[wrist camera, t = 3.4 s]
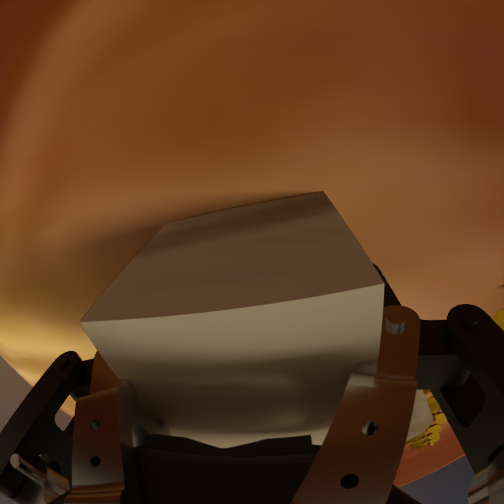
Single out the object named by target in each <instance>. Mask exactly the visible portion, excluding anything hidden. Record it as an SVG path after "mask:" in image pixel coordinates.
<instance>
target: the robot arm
mask: <svg viewBox="0 0 504 504" xmlns="http://www.w3.org/2000/svg"><path fill="white" fill-rule="evenodd" d="M372 264H373V263H372ZM373 265H374V267H375V269H376V270H377V272H378V273H379V275H380V277H381V278H382V280H383V282H384V303H383V318H382V329H381V339H380V348H379V356H378V359H375V360H371V361H366V362H362V363H359V365H358V368H357V371H356V373H352V375H351V376H350V379H349V381H348V384H347V386H346V389H345V392H344V394H343V397H342V399H341V402H340V404H339V407H338V409H337V412H336V414H335V417H334V419H333V421H332V424H331V426H330V428H329V430H328V433H327V435H326V437H325V439H324V441H323V443H322V445H314V444H312V438H311V435H303V436H293V437H282V438H267V439H264V440H260V441H256V442H252V443H248V444H243V445H239V446H234V447H229V448H219V447H216V446H212V445H209V444H205V443H202V442H199V441H196V440H193V439H190V438H187V437H178V436H171V433H170V429H169V427H168V426H167V425H166V423H165V422H164V421H163V420H157V419H152V418H151V417H150V416H149V415H148V413H147V412H146V411H145V410H144V409H143V408H142V406H141V404H140V402H139V399H138V396H137V390H136V388H135V387H134V386H133V385H132V383H131V382H130V381H129V379H119V378H117V376H116V375H115V374H114V372H113V371H112V370H111V368H110V367H109V366H108V364H107V363H106V362H105V360H104V359H103V357H102V356H101V355H100V353H99V352H98V351H97V352H96V354H95V357H94V358H93V359H89V360H85V361H82V359H81V358H80V357H79V355H78V354H77V353H76V352H75V351H68V352H65V353H63V354H61V355H60V356H59V357H58V358H57V359H56V360H55V361H54V362H53V363H52V364H51V366H50V367H49V368H48V369H47V371H46V372H45V373H44V374H43V376H42V377H41V378H40V379H39V381H38V382H37V383H36V384H35V386H34V387H33V388H32V390H31V391H30V392H29V394H28V395H27V396H26V398H25V399H24V400H23V402H22V403H21V404H20V406H19V407H18V408H17V410H16V411H15V413H14V414H13V415H12V417H11V418H10V420H9V421H8V423H7V424H6V426H5V427H4V428H3V430H2V431H1V433H0V493H2V494H3V495H4V496H5V497H7V498H8V499H10V500H12V501H13V503H14V504H421V503H419V502H418V501H416V500H415V499H413V498H411V497H410V496H409V495H408V494H406V493H405V492H403V491H402V490H400V489H399V488H397V487H396V486H395V485H393V483H394V480H395V477H396V474H397V471H398V467H399V464H400V461H401V458H402V454H403V451H404V447H405V443H406V439H407V435H408V431H409V427H410V422H411V417H412V412H413V407H414V402H415V396H416V390H428V389H430V391H431V393H432V394H433V396H434V398H435V399H436V401H437V403H438V404H439V406H440V408H441V410H442V411H443V413H444V415H445V417H446V418H447V420H448V422H449V424H450V426H451V428H452V429H453V431H454V433H455V435H456V437H457V439H458V441H459V443H460V444H461V446H462V448H463V450H464V452H465V454H466V456H467V458H468V460H469V462H470V464H471V467H472V469H473V471H474V473H475V477H474V478H473V480H472V481H471V483H470V486H469V489H468V501H469V504H504V331H503V329H502V328H501V327H500V326H499V325H498V324H497V323H496V322H495V321H494V320H493V319H492V318H491V317H490V316H489V315H488V314H487V313H486V312H485V311H483V310H482V309H481V308H479V307H477V306H474V305H470V304H461V305H458V306H455V307H453V308H452V309H451V310H450V311H449V313H448V316H447V320H422V319H420V318H419V316H418V314H417V313H416V312H415V311H414V310H412V309H410V308H408V307H405V306H401V304H400V302H399V301H398V299H397V297H396V295H395V294H394V292H393V290H392V289H391V287H390V285H389V284H388V283H387V281H386V279H385V277H384V276H383V274H382V273H381V271H380V269H379V268H378V266H376V265H375V264H373ZM69 395H70V396H71V397H72V398H73V399H74V400H75V401H76V407H75V415H74V417H73V418H72V420H71V421H70V423H69V425H68V426H67V428H66V429H65V430H64V431H62V430H61V429H60V428H59V427H58V426H57V425H56V423H55V414H56V413H57V411H58V410H59V408H60V407H61V406H62V404H63V403H64V401H65V400H66V398H67V397H68V396H69ZM40 454H41V457H40V456H39V455H40Z"/></svg>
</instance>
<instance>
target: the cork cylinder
mask: <svg viewBox="0 0 504 504" xmlns="http://www.w3.org/2000/svg"><path fill="white" fill-rule="evenodd" d="M432 421H433V417H432V414H431V411H430V408H429V405H428V403H427V400H426V397H425V395H424V392H423V390H416V396H415V402H414V407H413V412H412V417H411V422H410V427H409V431H408V435H407V439H406V441H408V440H410V439H412V438H414V437H416V436H417V435H419V434H420V433H422V432H423V431H425V430H426V429H427V428H428V427H429V426H430V425H431V423H432Z"/></svg>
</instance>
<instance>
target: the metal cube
mask: <svg viewBox="0 0 504 504" xmlns="http://www.w3.org/2000/svg"><path fill="white" fill-rule="evenodd" d="M383 303H384V282H383V280H382V278H381V277H380V275H379V273H378V272H377V270H376V269H375V267H374V265H373V264H372V262H371V260H370V259H369V257H368V256H367V254H366V253H365V251H364V250H363V248H362V246H361V245H360V243H359V242H358V240H357V239H356V237H355V236H354V234H353V233H352V231H351V230H350V228H349V227H348V225H347V224H346V222H345V221H344V220H343V218H342V217H341V215H340V214H339V212H338V211H337V210H336V208H335V207H334V205H333V204H332V203H331V201H330V200H329V198H328V197H327V196H326V194H325V193H324V192H317V193H311V194H305V195H299V196H294V197H288V198H283V199H277V200H272V201H267V202H262V203H256V204H251V205H246V206H241V207H237V208H232V209H227V210H222V211H218V212H213V213H208V214H204V215H199V216H195V217H191V218H186V219H182V220H178V221H174V222H169V223H166V224H165V225H164V226H163V227H162V228H161V229H160V230H159V231H158V232H157V233H156V234H155V235H154V236H153V238H152V239H151V240H150V241H149V242H148V243H147V244H146V245H145V246H144V247H143V248H142V249H141V250H140V251H139V252H138V254H137V255H136V256H135V257H134V258H133V259H132V260H131V261H130V262H129V263H128V265H127V266H126V267H125V268H124V269H123V270H122V271H121V272H120V274H119V275H118V276H117V277H116V278H115V279H114V280H113V282H112V283H111V284H110V285H109V286H108V287H107V289H106V290H105V291H104V292H103V293H102V294H101V296H100V297H99V298H98V299H97V300H96V302H95V303H94V304H93V305H92V307H91V308H90V309H89V310H88V312H87V313H86V314H85V315H84V317H83V318H82V319H81V320H80V322H79V323H80V324H81V326H82V327H83V329H84V331H85V332H86V334H87V335H88V337H89V338H90V340H91V341H92V343H93V344H94V346H95V347H96V349H97V350H98V352H99V353H100V355H101V356H102V357H103V359H104V360H105V362H106V363H107V364H108V366H109V367H110V368H111V370H112V371H113V372H114V374H115V375H116V376H117V378H119V379H129V381H130V382H131V383H132V385H133V386H134V387H135V388H136V390H137V396H138V399H139V402H140V404H141V406H142V408H143V409H144V410H145V411H146V412H147V413H148V415H149V416H150V417H151V418H152V419H157V420H163V421H164V422H165V423H166V425H167V426H168V427H169V429H170V433H171V436H178V437H187V438H190V439H193V440H196V441H199V442H202V443H205V444H209V445H212V446H216V447H219V448H229V447H234V446H239V445H243V444H248V443H252V442H256V441H260V440H264V439H267V438H282V437H293V436H303V435H311V438H312V444H314V445H322V443H323V441H324V439H325V437H326V435H327V433H328V430H329V428H330V426H331V424H332V421H333V419H334V417H335V414H336V412H337V409H338V407H339V404H340V402H341V399H342V397H343V394H344V392H345V389H346V386H347V384H348V381H349V379H350V376H351V375H352V373H356V371H357V368H358V365H359V363H362V362H366V361H371V360H375V359H378V356H379V348H380V339H381V329H382V318H383Z"/></svg>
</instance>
